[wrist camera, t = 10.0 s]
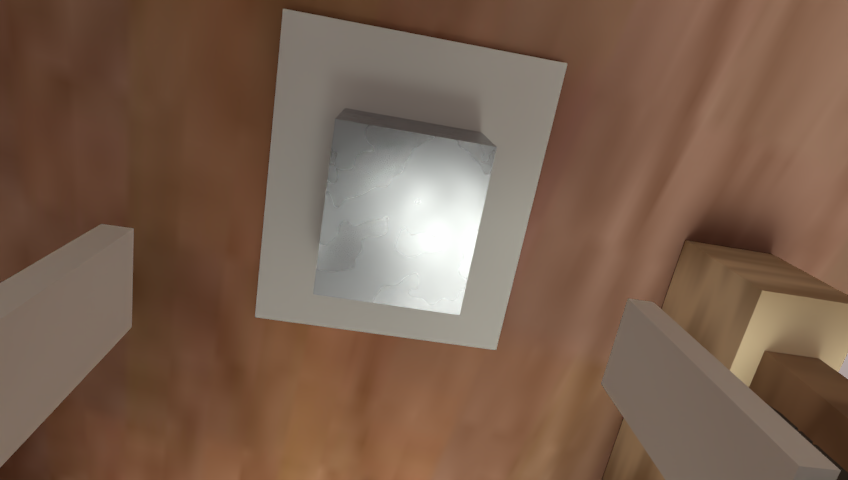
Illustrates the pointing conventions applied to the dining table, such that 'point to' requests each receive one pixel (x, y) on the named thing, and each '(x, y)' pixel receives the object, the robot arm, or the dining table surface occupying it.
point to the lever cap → (401, 211)
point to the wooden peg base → (759, 343)
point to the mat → (411, 99)
